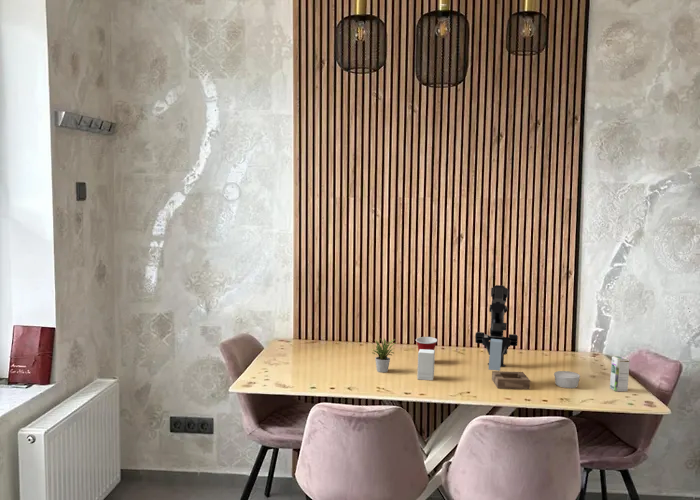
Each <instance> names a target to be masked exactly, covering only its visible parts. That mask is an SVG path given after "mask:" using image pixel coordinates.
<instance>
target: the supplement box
mask: <svg viewBox="0 0 700 500" xmlns="http://www.w3.org/2000/svg"><path fill="white" fill-rule="evenodd" d="M435 353H436V351H435V349H434V350H426V349H419V351H418V353H417V375H416V376H417V377H416V378H417V380H421V381H422V380H424V381H434V376H435V358H436V356H435Z"/></svg>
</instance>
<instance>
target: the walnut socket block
mask: <svg viewBox="0 0 700 500" xmlns="http://www.w3.org/2000/svg"><path fill="white" fill-rule="evenodd" d="M491 381H492V382H493V384H494V385H495V386H496V389H500V390H501V389H504V390H505V389H506V390H530V389H531V379H530V378H529V377H528V376H527V374H525V373H524V372H523V371H504V370H503V371H501V370H500V371H497V370H492V371H491Z"/></svg>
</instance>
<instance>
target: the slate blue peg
mask: <svg viewBox="0 0 700 500" xmlns="http://www.w3.org/2000/svg"><path fill="white" fill-rule="evenodd" d="M501 351H502V340H500V339H491V342H490V355H488V357H489V359H488V363H489V365H488V370H490V371H491V370H492V371H501V367H500V366H501Z"/></svg>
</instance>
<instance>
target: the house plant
mask: <svg viewBox="0 0 700 500" xmlns="http://www.w3.org/2000/svg"><path fill="white" fill-rule="evenodd" d="M396 340H397V339H395V338H394V339H392V340H391V341H387V340H386V338H385V337H383V339H380V341H381V345H380V343H379V342H378V340H377V339H374V341H375V343H376V345H375V347H376V349H373V348H371V351H373V352H372V354H373V355H377V356H375V365H376V366H375V367H376V372H378V373H388V372H389V366H390V362H391V357H388V356H393V355H392V354H395V352H393V350H395V349H396V348H392V347H393V346H394V345H396V342H394V341H396ZM393 342H394V343H393ZM371 344H373V345H374V343H372V342H371ZM389 346H390V347H389Z"/></svg>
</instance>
